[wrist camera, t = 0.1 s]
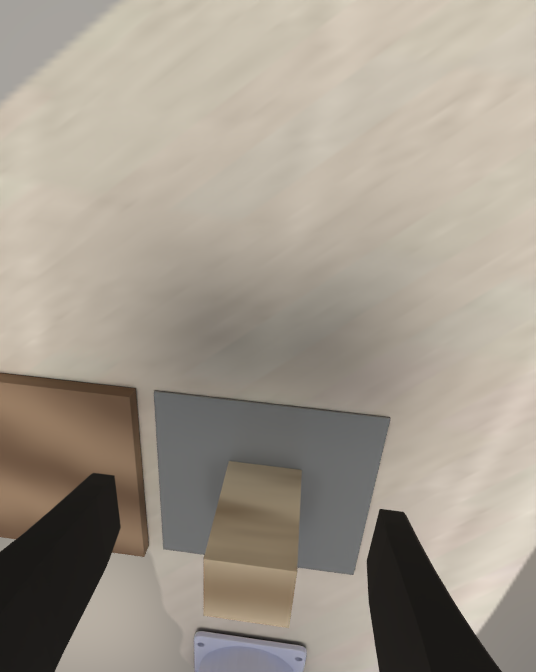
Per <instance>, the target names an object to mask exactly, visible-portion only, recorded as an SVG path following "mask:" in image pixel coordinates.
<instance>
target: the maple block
mask: <svg viewBox="0 0 536 672" xmlns="http://www.w3.org/2000/svg"><path fill="white" fill-rule="evenodd" d="M301 476H302V470H298V469H290V468H282V467H274V466H266V465H258V464H249V463H241V462H233V461H229V462H228V466H227V470H226V474H225V478H224V482H223V486H222V490H221V493H220V497H219V501H218V505H217V509H216V513H215V517H214V520H213V524H212V528H211V532H210V536H209V540H208V544H207V548H206V551H205V555H204V616H209V617H216V618H223V619H230V620H237V621H244V622H251V623H258V624H265V625H272V626H279V627H285V628H289V624H290V617H291V610H292V603H293V596H294V589H295V583H296V576H297V563H298V541H299V520H300V498H301Z"/></svg>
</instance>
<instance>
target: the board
mask: <svg viewBox="0 0 536 672" xmlns="http://www.w3.org/2000/svg"><path fill="white" fill-rule="evenodd" d="M92 473H100V474H107V475H115V484H116V492H117V500H118V509H119V517H120V525H121V529H120V531H119V534H118V537H117V540H116V543H115V545H114V548H113V551H112V552H113V553H120V554H128V555H134V556H142V557H144V556H145V554H146V551H147V549H148V546H149V544H148V532H147V520H146V508H145V496H144V484H143V472H142V460H141V448H140V436H139V424H138V412H137V401H136V389H135V388H127V387H118V386H109V385H101V384H92V383H83V382H74V381H65V380H57V379H48V378H39V377H30V376H22V375H13V374H4V373H0V537H4V538H11V539H17V538H18V537H20V536H21V535H22V534H23V533H24V532H26V531H27V530H28V529H29V528H30V527H31V526H33V525H34V524H35V523H36V522H37V521H38V520H40V519H41V518H42V517H43V516H44V515H45V514H47V513H48V512H49V511H50V510H51V509H52V508H53V507H55V506H56V505H57V504H58V503H59V502H60V501H61V500H63V499H64V498H65V497H66V496H67V495H68V494H69V493H70V492H71V491H73V490H74V489H75V488H76V487H77V486H78V485H79V484H80V483H81V482H83V481H84V480H85V479H86V478H87V477H88V476H89V475H91V474H92Z"/></svg>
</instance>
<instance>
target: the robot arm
mask: <svg viewBox="0 0 536 672" xmlns="http://www.w3.org/2000/svg"><path fill="white" fill-rule="evenodd" d="M120 529H121V525H120V517H119V509H118V500H117V492H116V484H115V475H107V474H100V473H92V474H91V475H89V476H88V477H87V478H86V479H85V480H84V481H83V482H81V483H80V484H79V485H78V486H77V487H76V488H75V489H74V490H73V491H71V492H70V493H69V494H68V495H67V496H66V497H65V498H64V499H63V500H61V501H60V502H59V503H58V504H57V505H56V506H55V507H53V508H52V509H51V510H50V511H49V512H48V513H47V514H45V515H44V516H43V517H42V518H41V519H40V520H38V521H37V522H36V523H35V524H34V525H33V526H31V527H30V528H29V529H28V530H27V531H26V532H24V533H23V534H22V535H21V536H20V537H18V538H17V539H16V540H15V541H14V542H12V543H11V544H10V545H8V546H7V547H6V548H5V549H3V550H2V551H1V552H0V672H55V669H56V667H57V665H58V663H59V661H60V659H61V657H62V654H63V652H64V650H65V648H66V646H67V644H68V642H69V640H70V638H71V636H72V634H73V632H74V630H75V628H76V626H77V624H78V622H79V620H80V619H81V616H82V615H83V613H84V611H85V609H86V607H87V605H88V603H89V601H90V599H91V597H92V595H93V593H94V591H95V589H96V587H97V585H98V583H99V580H100V579H101V577H102V575H103V573H104V570H105V568H106V566H107V564H108V561H109V559H110V556H111V553H112V551H113V548H114V545H115V543H116V540H117V537H118V534H119V531H120ZM367 576H368V595H369V606H370V613H371V620H372V627H373V633H374V640H375V646H376V653H377V659H378V665H379V672H502V671H501V670H500V669H499V667H498V666H497V665H496V663H495V662H494V661H493V659H492V658H491V657H490V655H489V654H488V652H487V651H486V649H485V648H484V647H483V645H482V644H481V642H480V641H479V639H478V638H477V636H476V635H475V633H474V632H473V630H472V629H471V627H470V626H469V624H468V623H467V621H466V620H465V618H464V617H463V615H462V614H461V612H460V610H459V609H458V607H457V606H456V604H455V603H454V601H453V599H452V598H451V596H450V594H449V593H448V591H447V589H446V588H445V586H444V584H443V583H442V581H441V579H440V578H439V576H438V574H437V572H436V571H435V569H434V567H433V565H432V564H431V562H430V560H429V558H428V556H427V555H426V553H425V551H424V549H423V547H422V545H421V544H420V542H419V540H418V538H417V536H416V534H415V532H414V530H413V528H412V526H411V524H410V522H409V520H408V518H407V516H406V515H405V513H404V512H400V511H392V510H384V509H380V510H379V514H378V518H377V522H376V526H375V530H374V534H373V538H372V542H371V546H370V550H369V554H368V558H367ZM306 655H307V650H306V648H305V647H303V646H300V645H293V644H287V643H280V642H273V641H266V640H259V639H253V638H246V637H239V636H232V635H225V634H219V633H212V632H205V631H198V632H196V633H195V637H194V667H195V672H304V666H305V661H306Z"/></svg>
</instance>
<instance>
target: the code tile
mask: <svg viewBox="0 0 536 672" xmlns="http://www.w3.org/2000/svg"><path fill="white" fill-rule="evenodd" d="M154 403H155V419H156V436H157V452H158V468H159V484H160V501H161V517H162V533H163V549H166V550H173V551H181V552H188V553H195V554H203V555H205V551H206V548H207V544H208V540H209V536H210V532H211V528H212V524H213V520H214V517H215V513H216V509H217V505H218V501H219V497H220V493H221V490H222V486H223V482H224V478H225V474H226V470H227V466H228V462H229V461H233V462H241V463H249V464H258V465H266V466H274V467H282V468H290V469H298V470H302V476H301V498H300V520H299V541H298V563H297V567H298V568H305V569H313V570H320V571H327V572H335V573H342V574H350V575H353V574H354V570H355V566H356V562H357V558H358V553H359V549H360V545H361V541H362V536H363V532H364V528H365V524H366V520H367V515H368V511H369V507H370V503H371V498H372V494H373V490H374V486H375V482H376V477H377V473H378V469H379V465H380V460H381V456H382V452H383V448H384V444H385V439H386V435H387V431H388V427H389V422H390V417H381V416H372V415H364V414H355V413H346V412H337V411H328V410H320V409H311V408H302V407H293V406H285V405H276V404H267V403H258V402H250V401H241V400H232V399H223V398H215V397H206V396H197V395H188V394H179V393H171V392H162V391H154Z"/></svg>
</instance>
